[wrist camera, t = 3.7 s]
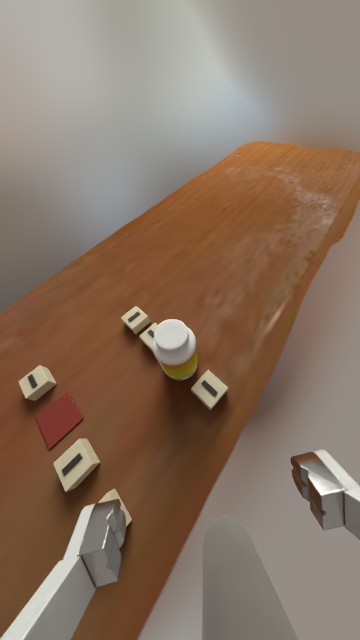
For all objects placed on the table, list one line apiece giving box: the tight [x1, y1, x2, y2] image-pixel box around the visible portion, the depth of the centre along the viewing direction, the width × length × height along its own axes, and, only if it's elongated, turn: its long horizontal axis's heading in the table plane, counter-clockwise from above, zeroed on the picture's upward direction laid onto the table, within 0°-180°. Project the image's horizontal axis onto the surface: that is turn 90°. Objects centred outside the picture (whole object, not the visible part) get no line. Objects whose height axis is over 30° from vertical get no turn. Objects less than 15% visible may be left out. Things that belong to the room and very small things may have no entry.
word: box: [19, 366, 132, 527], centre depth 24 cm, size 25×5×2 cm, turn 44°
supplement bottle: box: [152, 319, 198, 380], centre depth 25 cm, size 6×6×10 cm
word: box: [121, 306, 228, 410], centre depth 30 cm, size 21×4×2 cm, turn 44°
